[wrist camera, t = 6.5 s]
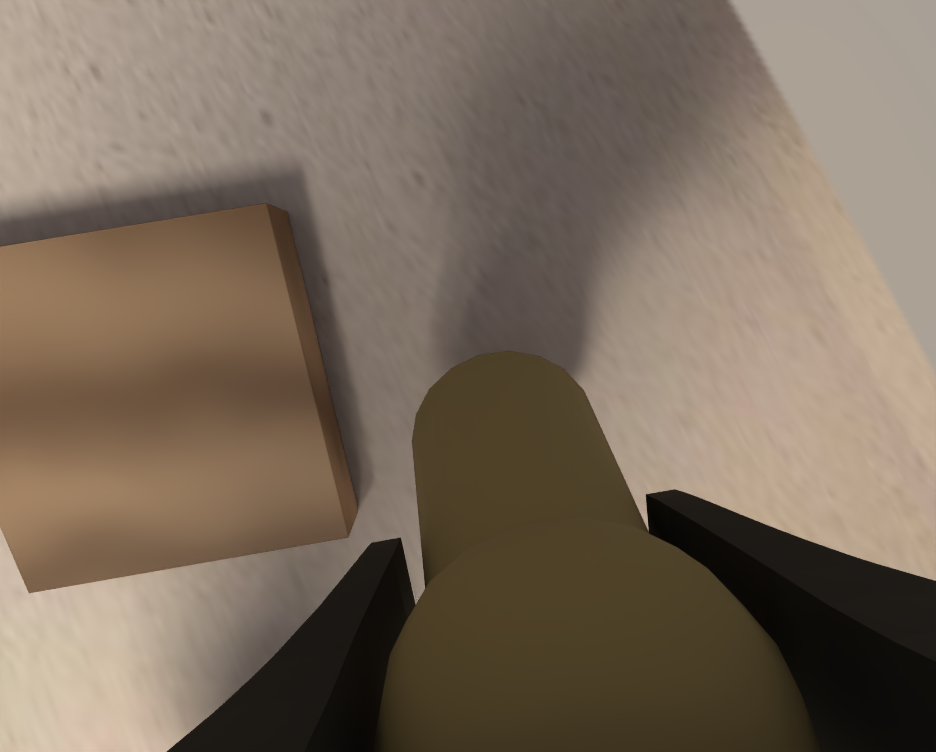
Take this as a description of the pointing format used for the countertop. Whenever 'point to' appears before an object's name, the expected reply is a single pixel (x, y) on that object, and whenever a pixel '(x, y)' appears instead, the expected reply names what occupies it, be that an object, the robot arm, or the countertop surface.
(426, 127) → the countertop surface
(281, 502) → the walnut base
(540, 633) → the olive tapered knobbed peg
